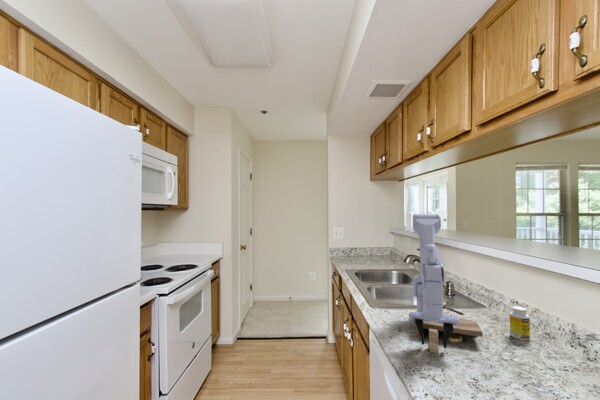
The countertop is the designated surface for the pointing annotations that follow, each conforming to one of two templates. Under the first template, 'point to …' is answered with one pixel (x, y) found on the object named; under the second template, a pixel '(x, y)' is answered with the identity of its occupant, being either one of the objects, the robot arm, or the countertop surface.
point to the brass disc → (455, 338)
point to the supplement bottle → (519, 323)
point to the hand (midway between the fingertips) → (433, 345)
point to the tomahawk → (454, 310)
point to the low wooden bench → (455, 328)
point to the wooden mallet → (433, 340)
